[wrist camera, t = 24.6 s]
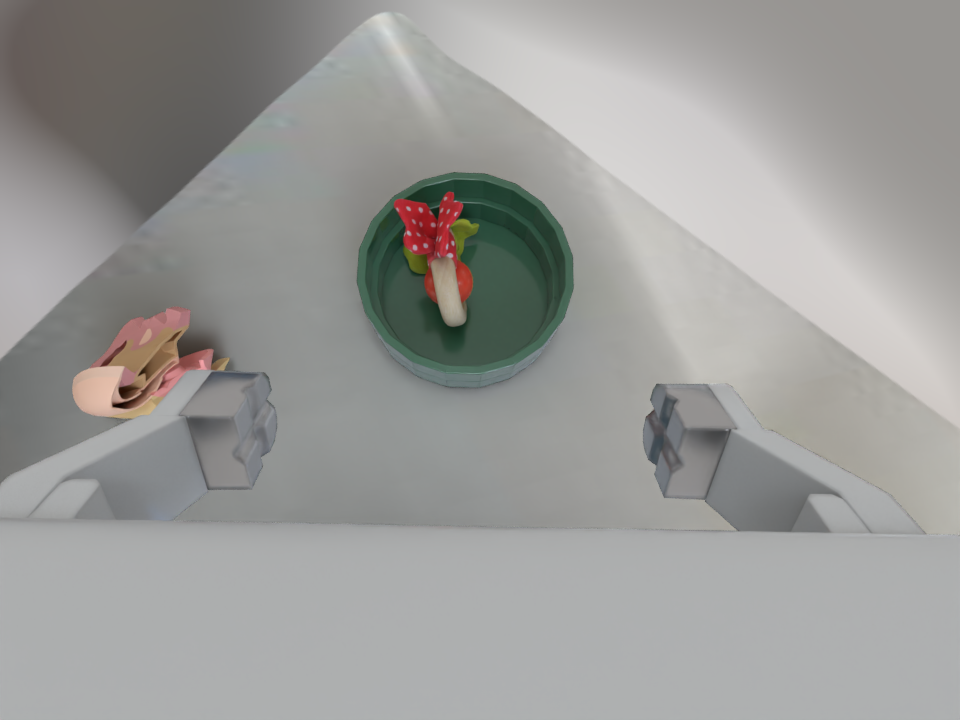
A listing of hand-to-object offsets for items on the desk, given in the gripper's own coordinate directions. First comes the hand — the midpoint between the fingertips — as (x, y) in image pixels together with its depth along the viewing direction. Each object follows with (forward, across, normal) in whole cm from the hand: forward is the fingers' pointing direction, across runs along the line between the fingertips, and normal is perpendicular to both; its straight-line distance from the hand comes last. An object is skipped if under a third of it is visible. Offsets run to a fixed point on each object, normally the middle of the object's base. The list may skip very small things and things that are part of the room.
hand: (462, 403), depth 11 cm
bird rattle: (+30, +1, +10) cm, 32 cm away
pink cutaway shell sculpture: (+25, +22, +17) cm, 37 cm away
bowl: (+30, 0, +11) cm, 32 cm away
